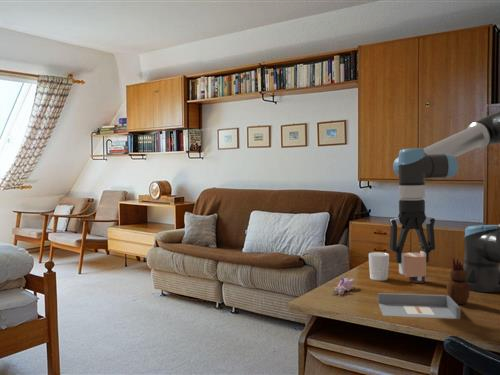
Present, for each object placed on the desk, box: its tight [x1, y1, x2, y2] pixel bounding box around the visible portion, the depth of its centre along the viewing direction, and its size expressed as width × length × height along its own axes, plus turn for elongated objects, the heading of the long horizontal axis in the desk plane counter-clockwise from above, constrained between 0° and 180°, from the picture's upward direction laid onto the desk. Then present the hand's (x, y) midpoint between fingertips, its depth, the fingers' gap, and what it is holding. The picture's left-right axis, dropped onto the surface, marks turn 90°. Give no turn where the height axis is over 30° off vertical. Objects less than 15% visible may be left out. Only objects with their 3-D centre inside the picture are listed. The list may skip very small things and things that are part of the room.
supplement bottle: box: [408, 251, 426, 284], centre depth 174 cm, size 6×6×11 cm
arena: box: [377, 292, 462, 320], centre depth 139 cm, size 22×13×4 cm, turn 80°
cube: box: [403, 252, 427, 278], centre depth 139 cm, size 6×6×6 cm
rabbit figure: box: [331, 277, 355, 297], centre depth 162 cm, size 6×6×15 cm
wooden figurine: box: [446, 257, 471, 305], centre depth 147 cm, size 7×6×15 cm
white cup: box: [368, 251, 390, 282], centre depth 179 cm, size 8×8×10 cm
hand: (412, 272), depth 139 cm, fingers closed on cube, 6 cm apart
